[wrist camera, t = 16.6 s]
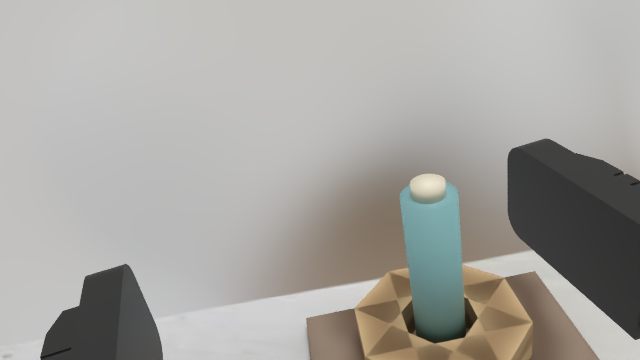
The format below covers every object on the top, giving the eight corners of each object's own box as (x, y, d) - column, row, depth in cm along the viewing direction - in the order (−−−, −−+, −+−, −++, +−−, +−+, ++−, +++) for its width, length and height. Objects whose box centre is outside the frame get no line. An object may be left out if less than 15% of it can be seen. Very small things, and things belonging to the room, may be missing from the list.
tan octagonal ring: (380, 430, 39) (374, 398, 37) (353, 308, 50) (347, 280, 49) (555, 394, 39) (557, 360, 37) (488, 280, 50) (487, 251, 49)
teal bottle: (425, 370, 43) (406, 203, 35) (412, 334, 46) (392, 174, 39) (473, 360, 43) (465, 190, 35) (457, 324, 46) (446, 163, 39)
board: (323, 452, 39) (320, 442, 39) (308, 327, 51) (306, 318, 50) (614, 392, 40) (615, 381, 39) (534, 281, 51) (534, 271, 50)
